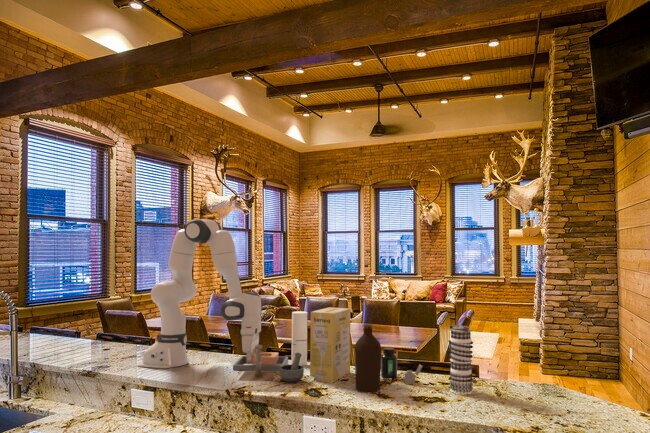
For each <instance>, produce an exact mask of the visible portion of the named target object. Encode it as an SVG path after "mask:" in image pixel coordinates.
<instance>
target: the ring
mask: <svg viewBox="0 0 650 433" xmlns="http://www.w3.org/2000/svg"><path fill="white" fill-rule="evenodd" d="M245 356H246V362H253V364H252V365H255V364H256V353H254V354H252V360H248V359H247V357H248V356H247V354H246V355H245ZM278 356H279V352H274V351H273V352H272V351H270V352H267V351H266V352H264V351H262V352H261V365H274V364H276V362H277V360H278Z"/></svg>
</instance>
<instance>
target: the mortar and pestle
mask: <svg viewBox="0 0 650 433" xmlns="http://www.w3.org/2000/svg"><path fill="white" fill-rule="evenodd" d="M301 356H302V354H300V353H295V358H294V361H293V364H292V365H291V364H288V365H284V366H281V365H280V366H281V367H280V371H279V373H280V378H281V380H282V381H283V382H284V383H286V384H297V383H299V382H300V381H301V380H302V378H303V376H304V373H305V371H304V370H305V368H304V365H303V366H300V365H299V362H300V357H301Z"/></svg>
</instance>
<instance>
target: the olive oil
mask: <svg viewBox="0 0 650 433" xmlns="http://www.w3.org/2000/svg"><path fill="white" fill-rule="evenodd" d="M353 350H354V352H353V353H354V371H355V372H354V373H355V390H356V391H358V392H361V393H368V392H370V393H377V392H378V391H380V390H381V356H382V352H383V351H382V346H381V343H380V341H379V340H378V339H377V338H376V336H375V335H374V334H373V325H372V323H364V324H363V334H362V335H361V337H359V339H358V340H356V342H355V345H354V349H353Z"/></svg>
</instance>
